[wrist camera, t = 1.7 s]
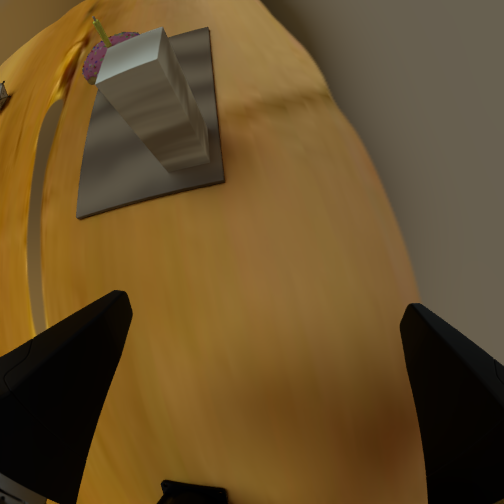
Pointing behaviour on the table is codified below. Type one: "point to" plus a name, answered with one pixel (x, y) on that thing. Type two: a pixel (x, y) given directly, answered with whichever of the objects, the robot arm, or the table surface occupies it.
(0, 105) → the game die
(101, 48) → the cupcake
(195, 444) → the table surface
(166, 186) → the gray board with column
